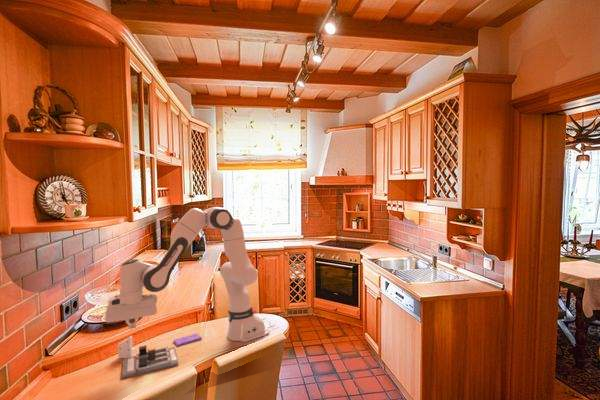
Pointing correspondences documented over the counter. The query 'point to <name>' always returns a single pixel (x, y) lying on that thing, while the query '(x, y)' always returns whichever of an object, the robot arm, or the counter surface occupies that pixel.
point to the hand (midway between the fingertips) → (132, 328)
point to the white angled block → (126, 348)
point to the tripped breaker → (151, 353)
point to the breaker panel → (149, 361)
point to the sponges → (187, 339)
